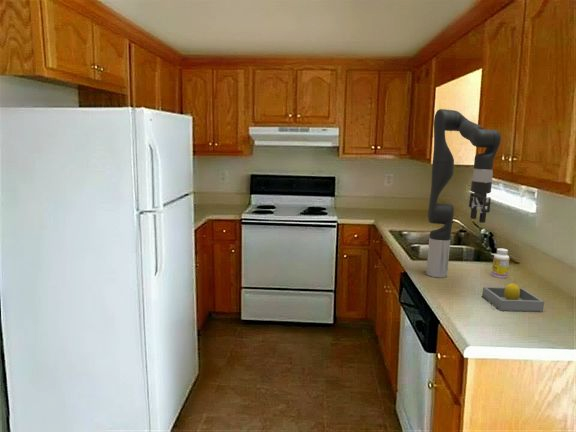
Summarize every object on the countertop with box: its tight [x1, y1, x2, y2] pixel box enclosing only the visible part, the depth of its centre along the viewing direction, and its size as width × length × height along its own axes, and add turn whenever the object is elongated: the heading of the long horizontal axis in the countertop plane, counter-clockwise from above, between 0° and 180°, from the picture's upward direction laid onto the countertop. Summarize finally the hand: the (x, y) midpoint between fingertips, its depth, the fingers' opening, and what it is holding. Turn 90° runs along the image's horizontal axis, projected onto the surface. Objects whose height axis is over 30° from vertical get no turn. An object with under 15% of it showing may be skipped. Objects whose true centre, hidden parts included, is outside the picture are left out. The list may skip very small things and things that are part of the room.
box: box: [481, 286, 545, 313], centre depth 188 cm, size 16×16×4 cm
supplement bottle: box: [491, 247, 510, 279], centre depth 225 cm, size 7×7×13 cm
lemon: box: [504, 282, 520, 300], centre depth 187 cm, size 6×6×8 cm
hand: (477, 220), depth 195 cm, fingers open, 8 cm apart
